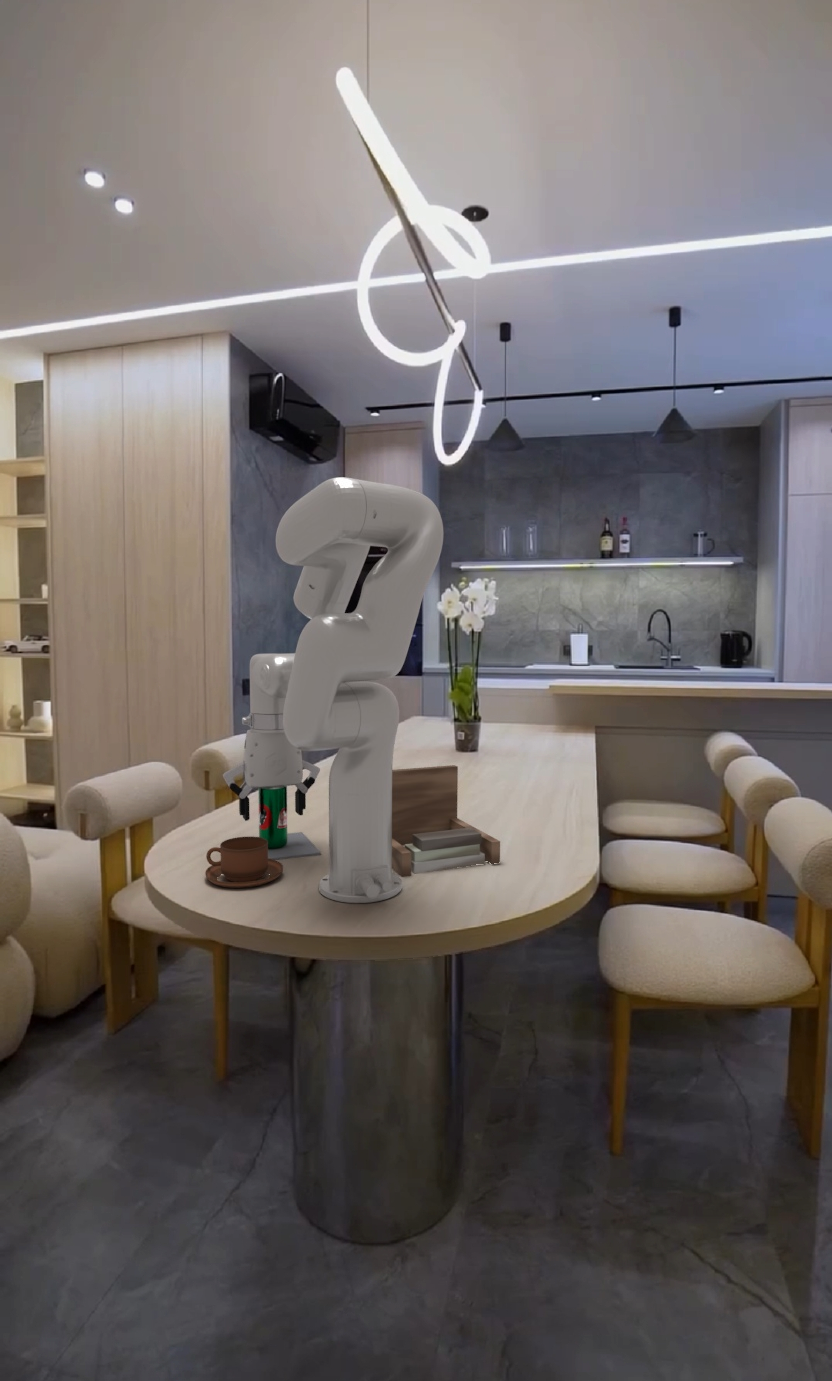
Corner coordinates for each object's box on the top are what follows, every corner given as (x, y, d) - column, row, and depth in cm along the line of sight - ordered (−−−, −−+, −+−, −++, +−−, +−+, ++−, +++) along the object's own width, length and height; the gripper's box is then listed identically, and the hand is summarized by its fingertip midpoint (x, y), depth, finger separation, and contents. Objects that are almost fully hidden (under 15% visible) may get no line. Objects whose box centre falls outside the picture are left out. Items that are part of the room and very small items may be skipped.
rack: (499, 864, 121) (501, 783, 120) (402, 877, 114) (402, 792, 113) (453, 836, 137) (454, 765, 136) (365, 846, 130) (365, 771, 129)
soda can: (284, 850, 126) (283, 783, 125) (256, 849, 126) (255, 783, 125) (290, 841, 131) (289, 778, 130) (262, 841, 131) (262, 777, 130)
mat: (321, 855, 125) (321, 852, 125) (240, 865, 119) (240, 861, 119) (301, 834, 138) (301, 831, 138) (228, 842, 132) (228, 839, 132)
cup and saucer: (204, 897, 105) (203, 857, 105) (206, 871, 117) (206, 835, 116) (285, 890, 108) (285, 851, 108) (280, 866, 120) (280, 830, 119)
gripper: (225, 727, 120) (227, 826, 121) (324, 722, 127) (324, 816, 128) (219, 722, 127) (221, 815, 128) (313, 718, 134) (314, 807, 135)
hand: (272, 816), depth 128 cm, fingers open, 9 cm apart
